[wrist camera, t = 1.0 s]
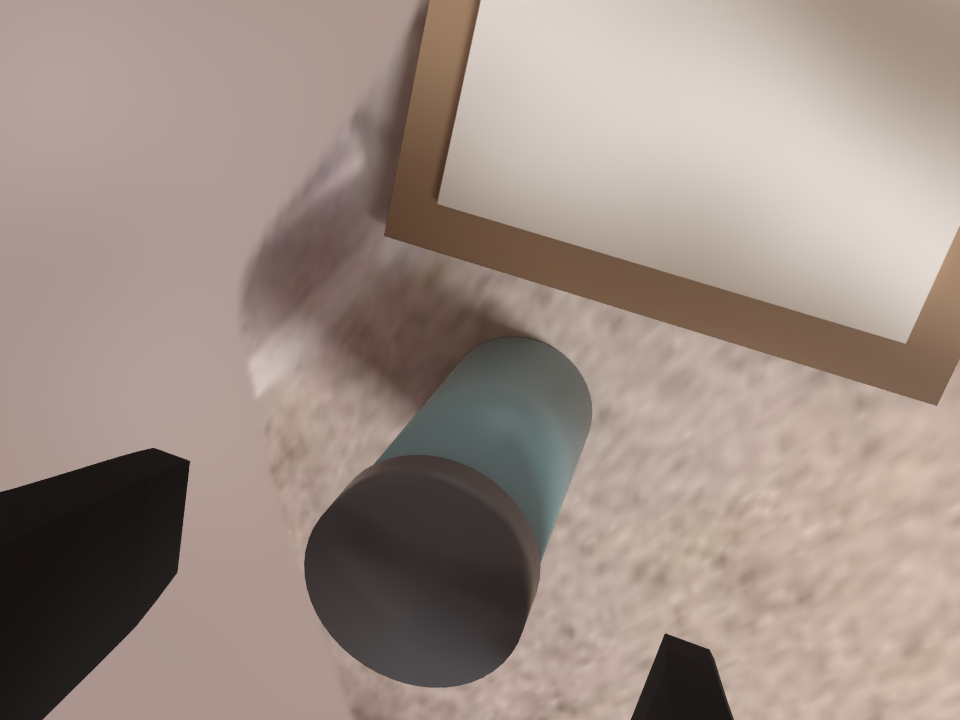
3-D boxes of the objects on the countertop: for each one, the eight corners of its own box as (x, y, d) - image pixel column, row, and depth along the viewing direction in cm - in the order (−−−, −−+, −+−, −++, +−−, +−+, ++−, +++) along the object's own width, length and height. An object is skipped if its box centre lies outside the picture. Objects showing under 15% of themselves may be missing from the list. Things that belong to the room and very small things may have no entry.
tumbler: (572, 498, 20) (495, 719, 13) (429, 448, 20) (289, 639, 14) (616, 361, 18) (553, 534, 12) (462, 312, 19) (323, 453, 13)
